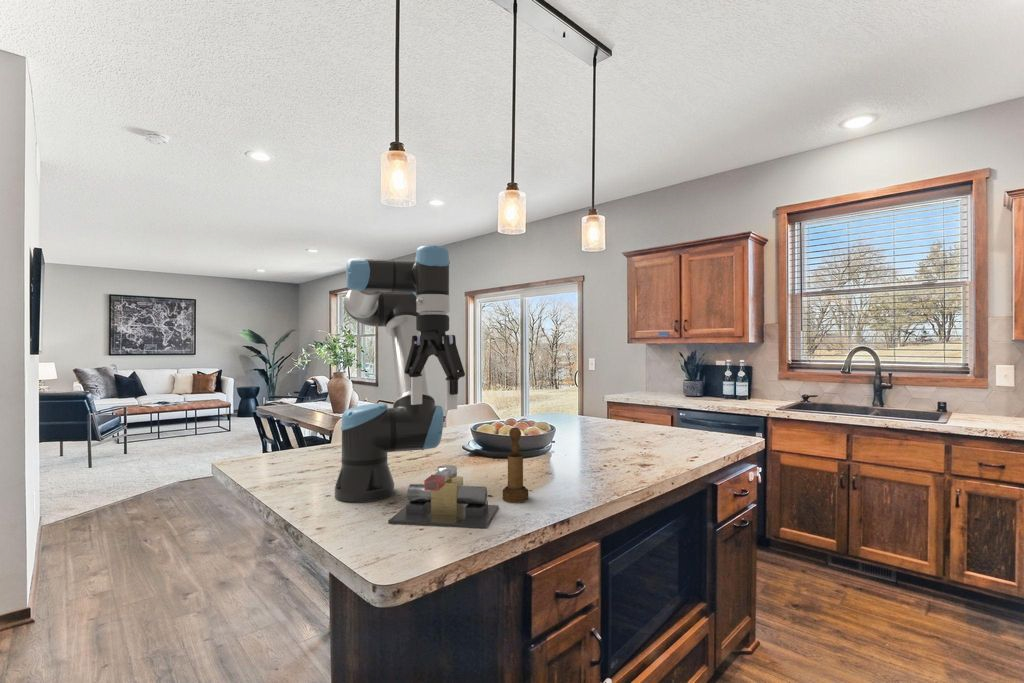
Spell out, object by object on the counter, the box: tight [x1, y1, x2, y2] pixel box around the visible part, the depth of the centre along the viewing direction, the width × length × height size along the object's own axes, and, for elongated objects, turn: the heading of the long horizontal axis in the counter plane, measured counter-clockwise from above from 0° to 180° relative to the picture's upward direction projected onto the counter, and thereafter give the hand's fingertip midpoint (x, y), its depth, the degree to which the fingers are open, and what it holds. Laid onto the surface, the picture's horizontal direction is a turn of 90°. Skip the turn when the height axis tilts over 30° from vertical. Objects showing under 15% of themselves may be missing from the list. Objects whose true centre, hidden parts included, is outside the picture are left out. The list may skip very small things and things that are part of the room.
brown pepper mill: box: [502, 427, 529, 504], centre depth 129 cm, size 7×6×18 cm
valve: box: [387, 475, 499, 529], centre depth 117 cm, size 22×14×8 cm, turn 81°
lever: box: [423, 464, 458, 491], centre depth 114 cm, size 14×4×2 cm, turn 171°
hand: (433, 406), depth 117 cm, fingers open, 13 cm apart
